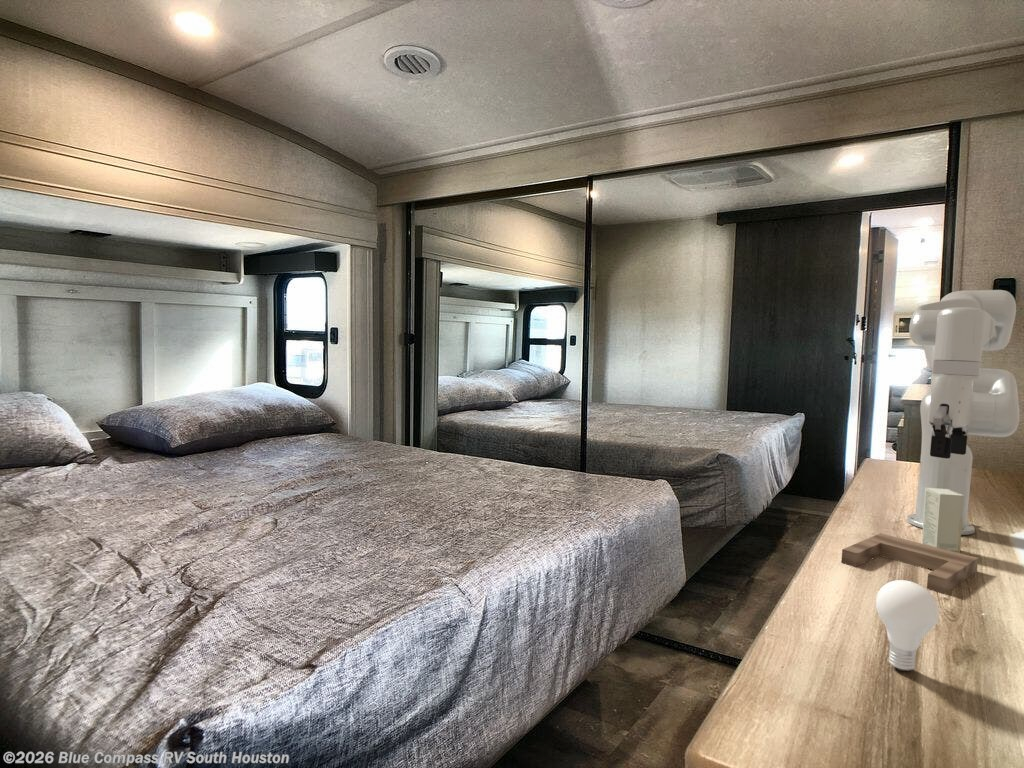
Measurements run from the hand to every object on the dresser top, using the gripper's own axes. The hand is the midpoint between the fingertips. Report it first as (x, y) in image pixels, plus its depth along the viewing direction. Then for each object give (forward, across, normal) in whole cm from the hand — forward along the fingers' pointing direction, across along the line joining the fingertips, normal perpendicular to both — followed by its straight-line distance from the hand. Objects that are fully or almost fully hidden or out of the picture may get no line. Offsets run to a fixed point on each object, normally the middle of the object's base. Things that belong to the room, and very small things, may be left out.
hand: (948, 455), depth 115 cm
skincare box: (+20, 0, 0) cm, 20 cm away
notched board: (+20, +17, 0) cm, 26 cm away
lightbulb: (+20, +59, +12) cm, 63 cm away
